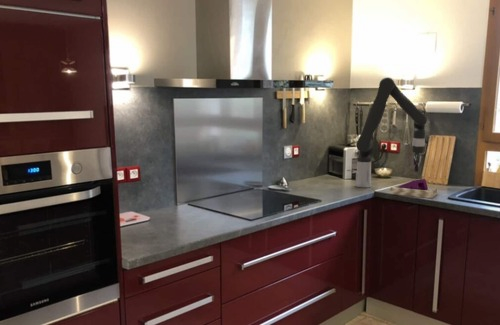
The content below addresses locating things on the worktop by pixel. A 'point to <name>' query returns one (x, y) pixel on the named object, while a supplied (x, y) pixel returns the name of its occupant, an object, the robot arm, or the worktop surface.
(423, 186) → the purple wedge
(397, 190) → the beige tray
